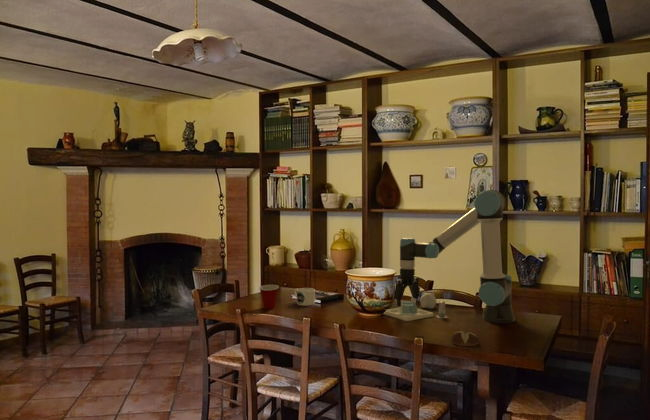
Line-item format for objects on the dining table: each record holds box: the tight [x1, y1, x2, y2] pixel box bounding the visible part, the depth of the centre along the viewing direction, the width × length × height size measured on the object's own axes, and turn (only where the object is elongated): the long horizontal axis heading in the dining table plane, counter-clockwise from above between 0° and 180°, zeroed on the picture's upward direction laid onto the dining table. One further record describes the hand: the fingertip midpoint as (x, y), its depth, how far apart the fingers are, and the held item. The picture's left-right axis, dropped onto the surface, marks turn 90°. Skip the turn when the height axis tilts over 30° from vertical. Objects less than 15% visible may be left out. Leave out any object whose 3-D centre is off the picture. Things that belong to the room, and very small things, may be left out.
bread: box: [451, 329, 480, 347], centre depth 218 cm, size 11×11×5 cm
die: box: [419, 292, 438, 309], centre depth 282 cm, size 8×9×10 cm
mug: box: [293, 287, 316, 307], centre depth 292 cm, size 13×10×8 cm
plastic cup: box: [258, 284, 280, 310], centre depth 280 cm, size 11×11×12 cm
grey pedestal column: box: [435, 300, 448, 319], centre depth 261 cm, size 6×6×8 cm
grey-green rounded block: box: [402, 301, 418, 314], centre depth 264 cm, size 11×8×4 cm
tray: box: [383, 307, 434, 322], centre depth 265 cm, size 18×18×2 cm
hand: (406, 311), depth 265 cm, fingers closed on grey-green rounded block, 8 cm apart
